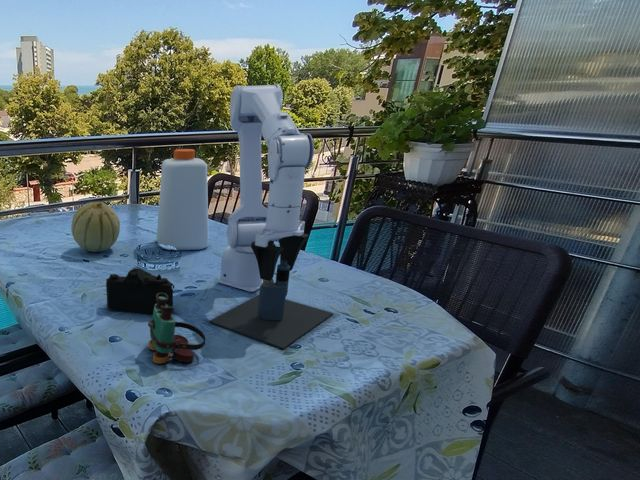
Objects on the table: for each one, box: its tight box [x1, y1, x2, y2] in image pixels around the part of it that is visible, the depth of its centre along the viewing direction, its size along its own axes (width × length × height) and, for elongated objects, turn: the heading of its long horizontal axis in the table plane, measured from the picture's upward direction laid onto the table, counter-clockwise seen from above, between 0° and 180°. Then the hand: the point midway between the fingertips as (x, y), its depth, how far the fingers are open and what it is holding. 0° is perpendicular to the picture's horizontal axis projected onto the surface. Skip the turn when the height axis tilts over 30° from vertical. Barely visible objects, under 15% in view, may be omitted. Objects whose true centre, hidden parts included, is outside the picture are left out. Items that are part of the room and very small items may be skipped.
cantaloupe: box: [70, 201, 121, 253], centre depth 138 cm, size 15×15×15 cm
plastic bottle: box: [156, 148, 210, 251], centre depth 138 cm, size 15×15×28 cm
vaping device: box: [257, 260, 291, 320], centre depth 91 cm, size 3×5×12 cm, turn 79°
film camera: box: [105, 267, 175, 316], centre depth 101 cm, size 15×10×9 cm, turn 71°
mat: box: [209, 294, 334, 351], centre depth 94 cm, size 16×20×1 cm
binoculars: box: [147, 293, 207, 365], centre depth 81 cm, size 9×11×10 cm
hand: (276, 274), depth 90 cm, fingers open, 7 cm apart
